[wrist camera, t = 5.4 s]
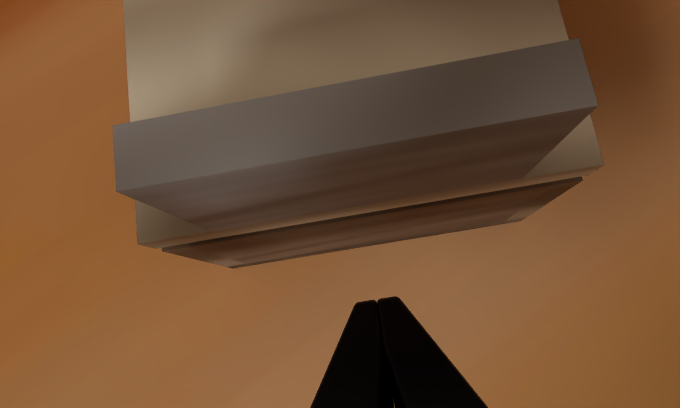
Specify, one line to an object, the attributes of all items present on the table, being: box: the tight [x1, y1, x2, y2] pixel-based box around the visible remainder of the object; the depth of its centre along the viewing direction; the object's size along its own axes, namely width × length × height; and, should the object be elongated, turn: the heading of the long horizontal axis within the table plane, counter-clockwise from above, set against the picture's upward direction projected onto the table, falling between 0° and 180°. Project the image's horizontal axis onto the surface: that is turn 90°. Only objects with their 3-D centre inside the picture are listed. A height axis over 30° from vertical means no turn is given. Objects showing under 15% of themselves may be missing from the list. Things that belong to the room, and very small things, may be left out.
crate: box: [162, 176, 583, 268], centre depth 18 cm, size 12×12×6 cm
